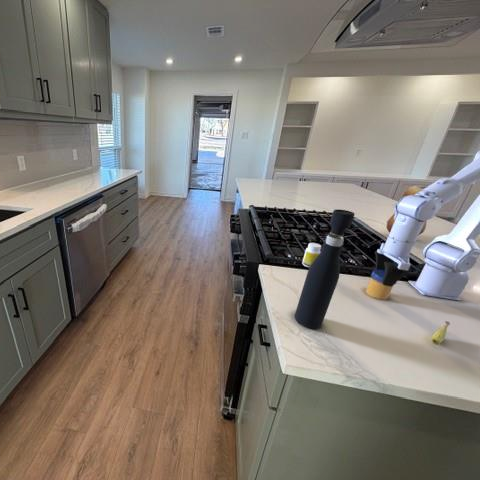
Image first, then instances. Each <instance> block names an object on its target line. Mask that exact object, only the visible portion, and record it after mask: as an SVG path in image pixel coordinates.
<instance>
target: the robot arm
mask: <svg viewBox="0 0 480 480" xmlns="http://www.w3.org/2000/svg"><path fill="white" fill-rule="evenodd" d="M478 180H480V150H478V151H477V152H476V154H475V155H474V158H473V160H472V162H470V163H469V164H467V165H466V166H464V167H462V169H460V170H459V171H457V172H456V173H455V174H453V176H450V178H448V177H443V178H439V179H437V180H436V181H435V182H433V183H431V184H430V185H428V186H426V187H427V188H425V189H423V190H422V191H420V192H418V193H417V194H415V195H409V196H405V197H403V198H402V197H401V198H400V199H399V200H398V201H397V203H395V205H394V209H393V210H394V214H395V216H394V220H395V222H394V224H393V227H392V229H391V231H390V233H389V234H388V236H387V239H386V241H385V242H382V243H381V245H380V247H379V248H377V250H375V251H374V254H375V269H374V270H384V271H385V274H384V278H383V285H385V286H390V287H392V286H393V285H394V284H395V283H396V282H397V283H398V281H399V280H400V279H401V278H402V277H404V276H405V275H407V274H409V273H411V272H412V268H411V265H412V264H411V263H410V254H411V252H412V250H413V248H414V246H415V244H416V242H417V240H418V237H419V236H420V235H419V233H420V231H421V229H422V227H423V225H424V223H425V221H426V220H427V221H429V220H431V219H432V218H434V217H435V216H436V214H437V213H438V212H439V211H440V210H441V208H442V207H443V206H444V205H445V204H447V203H448V202H451V201H452V200H453V199H456V197H458V196H460V195H461V194H462V193H463V188H465V187H467V186H468V185H470V184H472V183H474V182H476V181H478ZM418 235H419V236H418ZM479 236H480V194H479V195H477V197H476V199H475V200H474V201H473V203H472V204H471V205H470V207H468V209H467V210H466V212H464V214H463V215H462V216H461V218H460V220H459V221H458V223H456V225H455V226H454V228H453V229H452V230H451V232H450V233H448V234H443V235H438V236H435V237H434V239H433V240H432V241H431V242H430V243H428V244H427V245H426V246H425V247H424V248H423V250H422V257H423V258H424V260H423V261H424V262H425V264H424V266H423V268H422V270H421V272H420V273H419V276H418V278H417V280H415V281H414V280H408V284H410V285H411V286H412V287H413V288H415V289H416V290H417V291H418V293H420V294H421V295H422V296H428V297H434V298H441V299H448V300H455V301H461V298H460V296H461V294H462V293H463V291H464V290H465V288H466V286H467V284H468V282H469V278H470V277H469V273H468V271H469V270H471V269H473V267H475V265H476V263H477V261H478V258H479V256H480V247H479V246H478V244H477V243H476V242H475V241H476V239H478V237H479ZM397 283H396V284H397ZM396 284H395V285H396ZM395 285H394V286H395ZM394 286H393V287H394Z"/></svg>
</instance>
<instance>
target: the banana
mask: <svg viewBox="0 0 480 480" xmlns="http://www.w3.org/2000/svg"><path fill="white" fill-rule="evenodd" d="M444 322H445V325H443V326H442V327H440V328H438V329H437V330H436V331H435V333H434V334H433V335H432V336H431V338H430V340H431V342H432V344H434V345H441V344H442V342H444V339H445V338H446V335H447V328H449V327H448V326H450V324H451V323H450V322H449V321H445V320H444Z"/></svg>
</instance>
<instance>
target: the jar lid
mask: <svg viewBox="0 0 480 480" xmlns="http://www.w3.org/2000/svg"><path fill="white" fill-rule="evenodd" d="M384 274H385V271H384V270H375V269H373V270H372V271H371V274H370V277H371V278H373V279H374V280H376V281H378V282H381V283H383V278H384ZM397 283H398V281H397V282H396V283H395V284H394V286H395V285H397Z"/></svg>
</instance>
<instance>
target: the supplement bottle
mask: <svg viewBox="0 0 480 480" xmlns="http://www.w3.org/2000/svg"><path fill="white" fill-rule="evenodd" d="M321 250H322V245H321V244H320V243H316V242H309V243H308V245H307V247H306V248H305V250H304V254H303V257H302V262H301V264H302V265H303V266H304V267H306V268H308V269H309V268H310V266H311V264H312V263H313V261H314V260H315V259H316V257H317V256H318V255H319V254H320V252H321Z"/></svg>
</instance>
